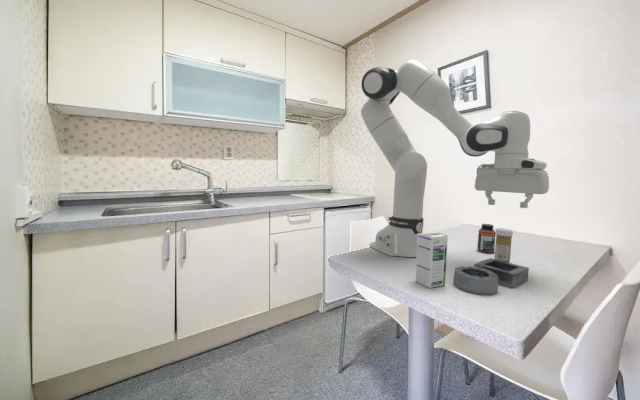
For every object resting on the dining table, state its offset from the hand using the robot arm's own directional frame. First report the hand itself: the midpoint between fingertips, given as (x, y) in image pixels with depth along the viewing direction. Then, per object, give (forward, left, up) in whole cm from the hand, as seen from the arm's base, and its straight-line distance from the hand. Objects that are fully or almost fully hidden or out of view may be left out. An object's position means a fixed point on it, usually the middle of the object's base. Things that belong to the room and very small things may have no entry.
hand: (506, 206), depth 89 cm
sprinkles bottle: (0, 0, -21) cm, 21 cm away
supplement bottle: (-13, +17, -21) cm, 31 cm away
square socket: (+4, -10, -21) cm, 24 cm away
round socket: (+3, -23, -21) cm, 31 cm away
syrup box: (-5, -32, -21) cm, 39 cm away
